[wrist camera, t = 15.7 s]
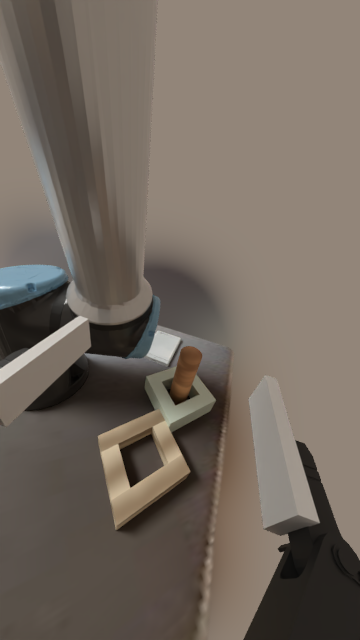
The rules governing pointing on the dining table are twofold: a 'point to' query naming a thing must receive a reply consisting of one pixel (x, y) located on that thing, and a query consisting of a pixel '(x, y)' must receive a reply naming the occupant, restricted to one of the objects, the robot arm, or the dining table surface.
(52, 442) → the dining table surface
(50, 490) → the dining table surface
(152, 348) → the hard drive
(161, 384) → the socket block
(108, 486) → the holder
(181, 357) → the peg
